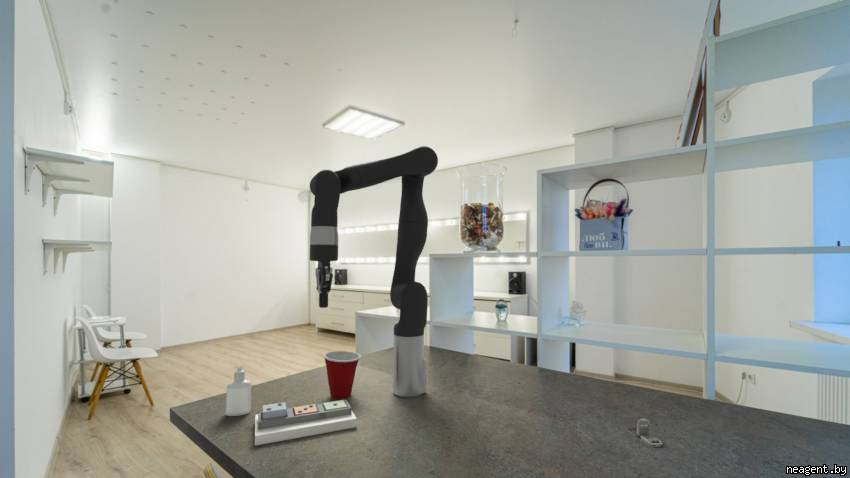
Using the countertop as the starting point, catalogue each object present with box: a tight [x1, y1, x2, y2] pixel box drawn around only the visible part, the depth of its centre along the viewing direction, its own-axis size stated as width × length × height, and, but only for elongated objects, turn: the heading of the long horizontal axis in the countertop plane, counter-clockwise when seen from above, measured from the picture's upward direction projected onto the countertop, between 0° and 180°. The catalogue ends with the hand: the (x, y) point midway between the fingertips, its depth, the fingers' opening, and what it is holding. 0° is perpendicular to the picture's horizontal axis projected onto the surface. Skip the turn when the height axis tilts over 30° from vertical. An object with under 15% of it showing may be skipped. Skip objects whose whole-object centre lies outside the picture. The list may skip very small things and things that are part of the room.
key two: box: [262, 401, 288, 419], centre depth 87 cm, size 5×4×2 cm
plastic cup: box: [323, 350, 362, 400], centre depth 109 cm, size 11×11×12 cm
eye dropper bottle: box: [225, 365, 252, 417], centre depth 96 cm, size 4×6×12 cm
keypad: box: [254, 398, 358, 446], centre depth 89 cm, size 22×12×4 cm, turn 114°
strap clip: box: [626, 418, 664, 448], centre depth 84 cm, size 8×3×4 cm, turn 6°
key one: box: [322, 399, 347, 411], centre depth 92 cm, size 5×4×2 cm
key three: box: [293, 403, 318, 416], centre depth 89 cm, size 5×4×2 cm
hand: (323, 307), depth 101 cm, fingers closed
